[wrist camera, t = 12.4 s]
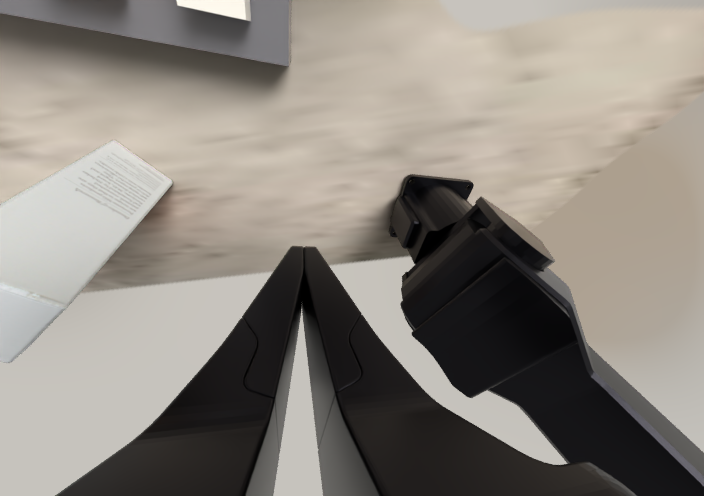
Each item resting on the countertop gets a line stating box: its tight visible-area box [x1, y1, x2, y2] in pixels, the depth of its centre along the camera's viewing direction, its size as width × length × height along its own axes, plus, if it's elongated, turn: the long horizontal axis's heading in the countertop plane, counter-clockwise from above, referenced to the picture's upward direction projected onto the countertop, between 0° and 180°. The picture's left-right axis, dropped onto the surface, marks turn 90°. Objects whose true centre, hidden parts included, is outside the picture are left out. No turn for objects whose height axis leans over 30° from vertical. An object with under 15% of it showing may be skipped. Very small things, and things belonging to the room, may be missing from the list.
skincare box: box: [0, 140, 173, 363], centre depth 14 cm, size 6×4×12 cm
